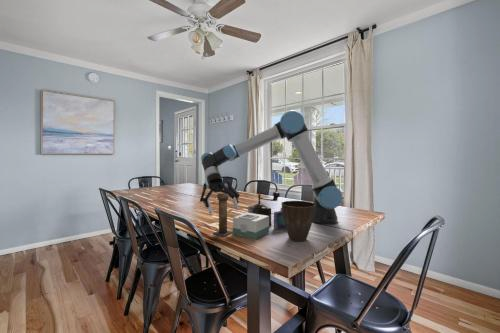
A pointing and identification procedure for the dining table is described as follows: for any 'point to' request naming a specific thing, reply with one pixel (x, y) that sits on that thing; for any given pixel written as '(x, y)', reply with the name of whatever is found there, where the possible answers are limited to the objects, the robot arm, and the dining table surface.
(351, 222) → the dining table surface
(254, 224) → the tissue box
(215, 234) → the mat
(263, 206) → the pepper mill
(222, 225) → the brown knobbed cylinder
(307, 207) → the plant pot
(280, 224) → the flask
